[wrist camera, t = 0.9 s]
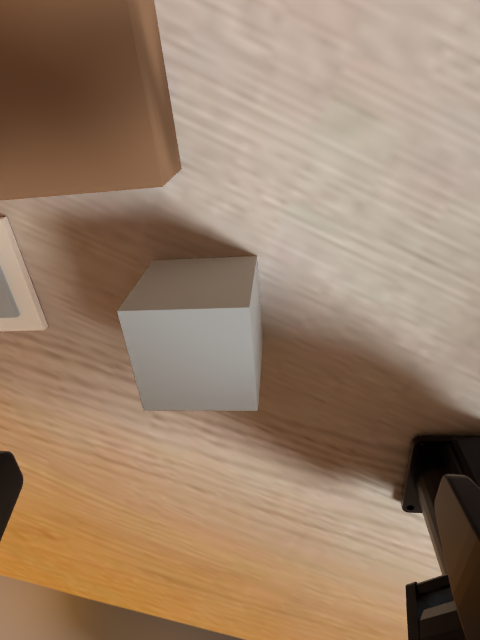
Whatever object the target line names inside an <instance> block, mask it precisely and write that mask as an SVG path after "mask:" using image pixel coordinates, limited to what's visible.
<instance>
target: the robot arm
mask: <svg viewBox="0 0 480 640" xmlns="http://www.w3.org/2000/svg"><path fill="white" fill-rule="evenodd" d="M420 444H422V445H420ZM22 485H23V475H22V473H21V471H20V468H19V466H18V464H17V462H16V460H15V457H14V455H13V454H12V453H11V452H8V451H0V541H1V538H2V536H3V533H4V531H5V528H6V526H7V523H8V521H9V519H10V516H11V514H12V511H13V509H14V506H15V504H16V501H17V499H18V496H19V494H20V491H21V489H22ZM401 506H402V509H403V510H404V511H405V512H409V513H423V515H424V519H425V522H426V525H427V528H428V531H429V534H430V538H431V541H432V544H433V547H434V550H435V553H436V557H437V560H438V563H439V566H440V569H441V572H442V576H439V577H436V578H432V579H429V580H426V581H423V582H420V583H417V582H413V583H410V584H407V585H406V602H407V603H406V606H407V624H408V640H480V436H427V435H422V436H417V437H415V438H414V439H413V440H412V443H411V448H410V454H409V459H408V465H407V470H406V476H405V481H404V487H403V492H402V498H401Z"/></svg>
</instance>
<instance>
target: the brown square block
mask: <svg viewBox="0 0 480 640" xmlns="http://www.w3.org/2000/svg"><path fill="white" fill-rule="evenodd" d="M181 169H182V168H181V162H180V156H179V150H178V144H177V138H176V132H175V126H174V120H173V114H172V108H171V101H170V95H169V89H168V83H167V77H166V71H165V65H164V59H163V53H162V47H161V41H160V34H159V28H158V22H157V16H156V10H155V4H154V0H0V200H10V199H22V198H34V197H46V196H58V195H70V194H82V193H94V192H106V191H118V190H129V189H141V188H153V187H163V186H164V185H165V184H166V183H167V182H168V181H169V180H170V179H171V178H172V177H173V176H174V175H175V174H176V173H178V172H179V171H180V170H181Z"/></svg>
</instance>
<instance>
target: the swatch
mask: <svg viewBox="0 0 480 640" xmlns="http://www.w3.org/2000/svg"><path fill="white" fill-rule="evenodd" d="M47 327H48V325H47V322H46V320H45V317H44V314H43V312H42V309H41V306H40V304H39V301H38V298H37V296H36V293H35V290H34V288H33V285H32V282H31V280H30V277H29V274H28V272H27V269H26V266H25V264H24V261H23V258H22V256H21V253H20V250H19V248H18V245H17V242H16V240H15V237H14V234H13V232H12V229H11V226H10V224H9V221H8V218H7V217H0V331H38V330H45V329H46V328H47Z"/></svg>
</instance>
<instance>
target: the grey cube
mask: <svg viewBox="0 0 480 640" xmlns="http://www.w3.org/2000/svg"><path fill="white" fill-rule="evenodd" d="M117 313H118V317H119V321H120V324H121V328H122V332H123V336H124V339H125V343H126V347H127V350H128V354H129V358H130V362H131V365H132V369H133V373H134V376H135V380H136V384H137V388H138V391H139V395H140V399H141V402H142V406H143V410H144V411H258V402H259V390H260V377H261V364H262V352H263V337H262V322H261V307H260V292H259V277H258V262H257V256H241V257H218V258H196V259H173V260H153V261H152V262H151V263H150V265H149V266H148V268H147V269H146V271H145V272H144V273H143V275H142V276H141V278H140V279H139V281H138V282H137V283H136V285H135V286H134V288H133V289H132V290H131V292H130V293H129V295H128V296H127V298H126V299H125V300H124V302H123V303H122V305H121V306H120V307H119V309H118V310H117Z"/></svg>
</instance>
